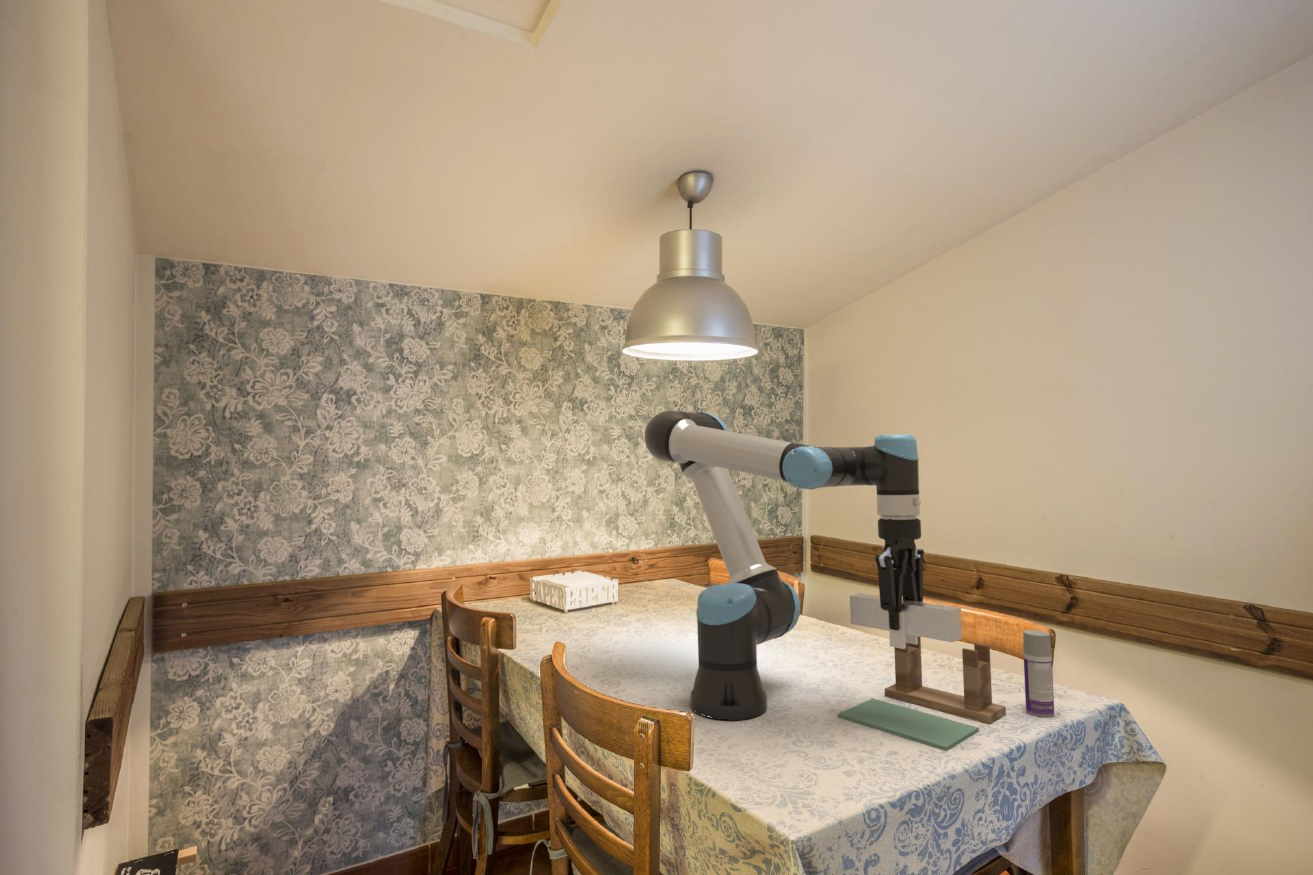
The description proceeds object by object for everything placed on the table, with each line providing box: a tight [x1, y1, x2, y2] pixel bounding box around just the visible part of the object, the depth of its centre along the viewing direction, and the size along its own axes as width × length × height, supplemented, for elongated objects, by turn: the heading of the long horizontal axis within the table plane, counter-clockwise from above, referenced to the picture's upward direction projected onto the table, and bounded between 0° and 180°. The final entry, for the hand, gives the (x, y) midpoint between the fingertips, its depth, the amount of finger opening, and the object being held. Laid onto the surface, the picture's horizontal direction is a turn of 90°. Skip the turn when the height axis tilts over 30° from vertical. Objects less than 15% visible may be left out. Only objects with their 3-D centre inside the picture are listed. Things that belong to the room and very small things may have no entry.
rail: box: [849, 592, 963, 644], centre depth 124 cm, size 4×20×5 cm, turn 41°
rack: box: [884, 636, 1007, 725], centre depth 132 cm, size 7×21×12 cm, turn 41°
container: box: [1022, 629, 1055, 718], centre depth 127 cm, size 5×5×15 cm
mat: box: [837, 698, 980, 752], centre depth 123 cm, size 12×21×1 cm, turn 41°
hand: (903, 644), depth 124 cm, fingers closed on rail, 4 cm apart
